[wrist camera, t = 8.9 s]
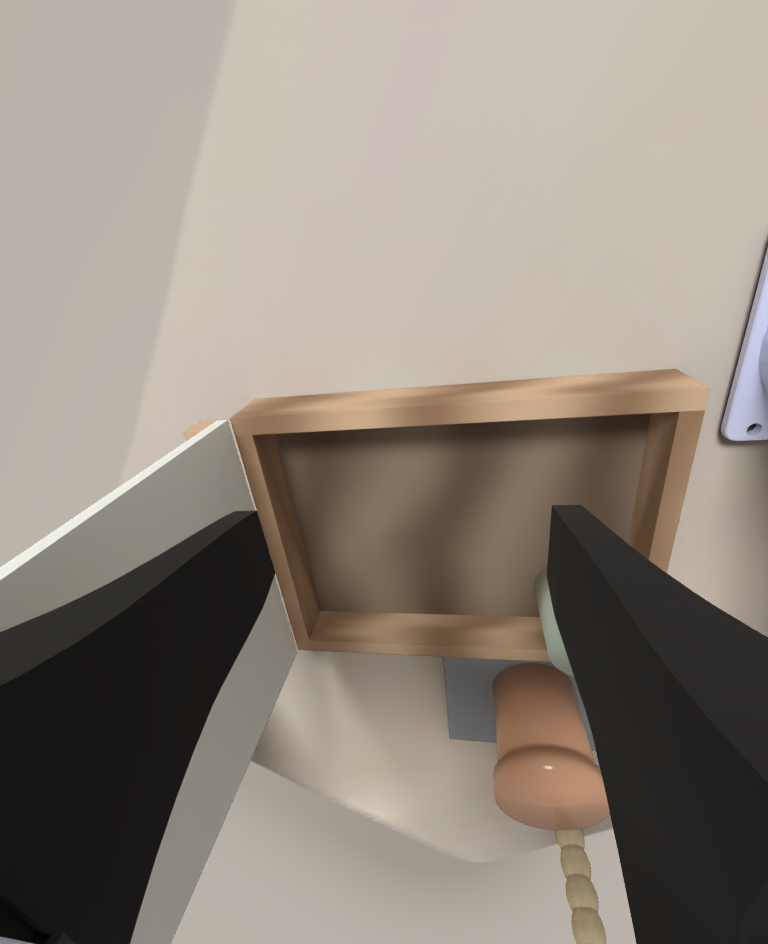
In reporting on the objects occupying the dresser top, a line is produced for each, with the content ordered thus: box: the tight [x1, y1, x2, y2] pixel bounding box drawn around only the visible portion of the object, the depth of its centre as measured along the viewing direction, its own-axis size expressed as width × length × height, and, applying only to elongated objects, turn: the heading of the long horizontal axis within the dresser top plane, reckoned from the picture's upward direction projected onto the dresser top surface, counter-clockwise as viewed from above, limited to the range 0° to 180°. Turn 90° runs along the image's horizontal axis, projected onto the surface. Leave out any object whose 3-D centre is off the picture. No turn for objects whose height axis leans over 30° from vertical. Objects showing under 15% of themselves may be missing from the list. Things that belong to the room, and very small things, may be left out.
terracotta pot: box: [493, 663, 610, 830], centre depth 23 cm, size 5×5×6 cm
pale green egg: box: [533, 567, 574, 676], centre depth 20 cm, size 4×4×4 cm
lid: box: [0, 420, 297, 944], centre depth 13 cm, size 18×14×1 cm
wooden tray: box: [230, 369, 710, 662], centre depth 20 cm, size 18×14×3 cm
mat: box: [443, 657, 596, 751], centre depth 26 cm, size 12×10×1 cm
